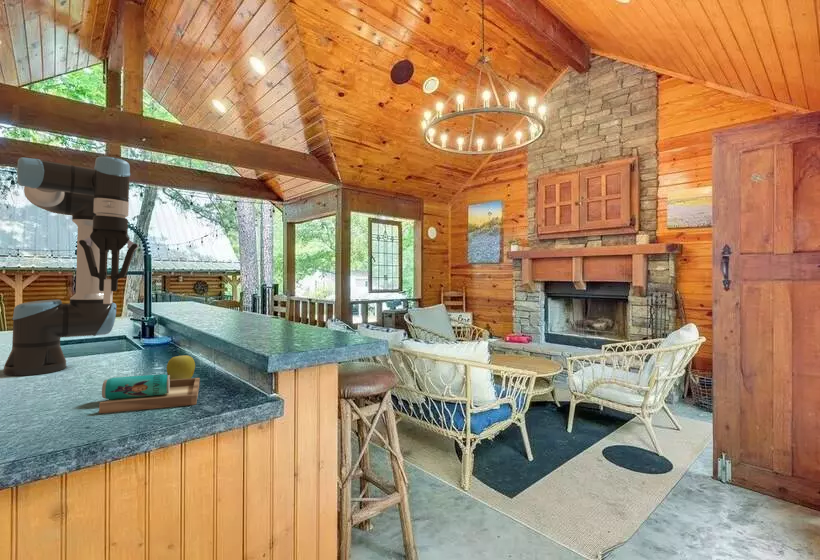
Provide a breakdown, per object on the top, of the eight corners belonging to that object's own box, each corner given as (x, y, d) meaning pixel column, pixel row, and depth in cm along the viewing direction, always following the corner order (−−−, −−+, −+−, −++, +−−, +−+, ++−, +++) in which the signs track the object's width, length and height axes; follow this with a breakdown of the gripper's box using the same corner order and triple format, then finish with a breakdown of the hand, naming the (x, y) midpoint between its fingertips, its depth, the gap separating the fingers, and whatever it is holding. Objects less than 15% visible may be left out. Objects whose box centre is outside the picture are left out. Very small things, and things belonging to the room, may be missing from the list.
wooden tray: (116, 391, 114) (116, 383, 114) (199, 385, 123) (199, 377, 123) (99, 413, 97) (99, 403, 97) (196, 404, 106) (196, 395, 106)
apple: (189, 381, 123) (181, 350, 123) (165, 387, 124) (157, 357, 124) (203, 375, 131) (195, 346, 131) (180, 381, 131) (173, 352, 131)
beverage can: (101, 382, 102) (168, 377, 109) (106, 375, 107) (170, 371, 114) (101, 403, 103) (168, 397, 110) (105, 395, 108) (169, 390, 115)
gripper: (76, 212, 100) (72, 304, 100) (137, 217, 106) (134, 305, 106) (84, 214, 106) (81, 301, 107) (142, 220, 112) (138, 302, 113)
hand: (107, 303), depth 107 cm, fingers closed
